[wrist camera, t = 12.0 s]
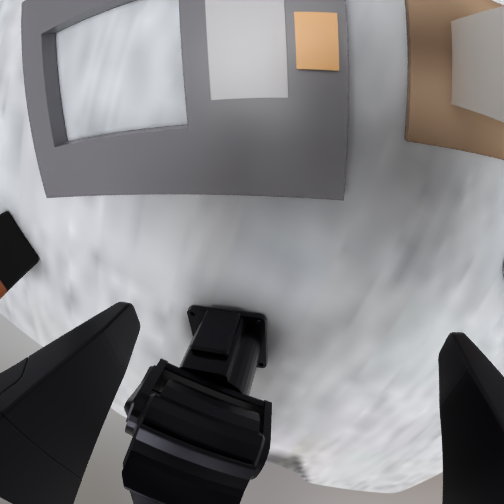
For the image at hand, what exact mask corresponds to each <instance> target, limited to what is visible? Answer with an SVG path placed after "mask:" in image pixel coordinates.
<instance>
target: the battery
mask: <svg viewBox="0 0 504 504" xmlns="http://www.w3.org/2000/svg"><path fill="white" fill-rule="evenodd" d="M37 262H38V257H37V255H36V253H35V252H34V251H33V249H32V248H31V246H30V245H29V243H28V242H27V240H26V239H25V237H24V236H23V234H22V233H21V231H20V230H19V228H18V227H17V225H16V224H15V222H14V220H13V219H12V217H11V216H10V214H9V213H8V212H3V213H2V214H1V215H0V299H1V298H2V297H3V296H4V295H5V293H6V292H7V291H8V290H9V289H10V288H11V287H12V286H13V285H14V284H15V283H17V282H18V281H19V280H20V279H21V278H22V277H23V276H24V275H25V274H26V273H27V272H28V271H29V270H30V269H31V268H32V267H33V266H34V265H35V264H36V263H37Z"/></svg>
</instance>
